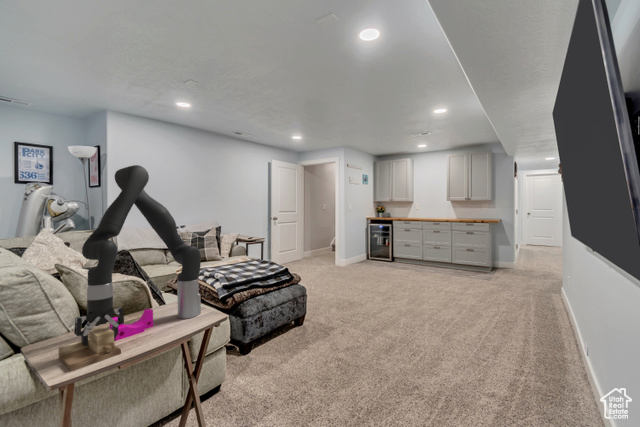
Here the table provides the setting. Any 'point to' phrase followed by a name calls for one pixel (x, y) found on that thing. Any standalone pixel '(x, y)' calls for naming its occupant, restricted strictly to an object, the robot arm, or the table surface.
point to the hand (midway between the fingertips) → (100, 341)
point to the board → (82, 355)
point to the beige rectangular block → (101, 339)
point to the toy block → (134, 325)
